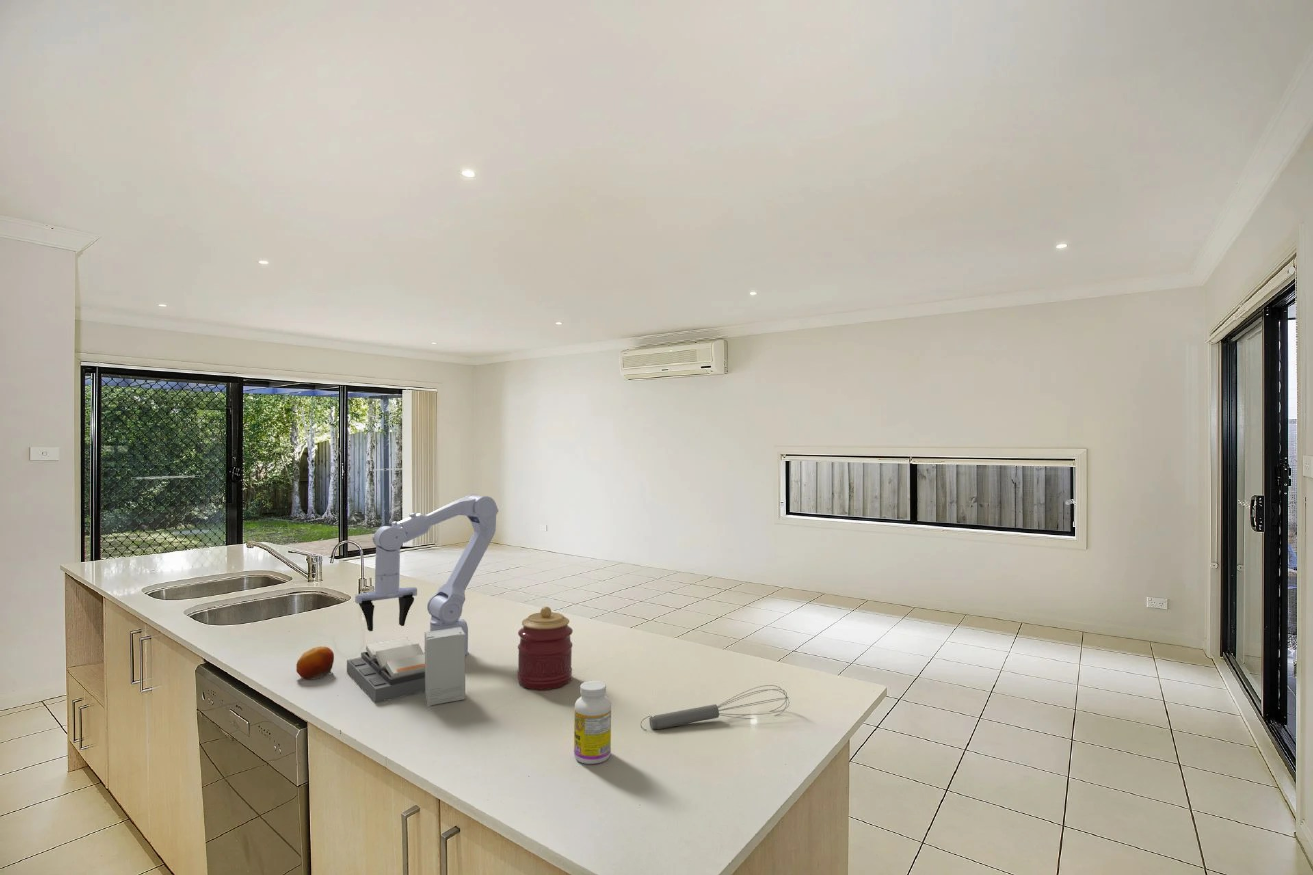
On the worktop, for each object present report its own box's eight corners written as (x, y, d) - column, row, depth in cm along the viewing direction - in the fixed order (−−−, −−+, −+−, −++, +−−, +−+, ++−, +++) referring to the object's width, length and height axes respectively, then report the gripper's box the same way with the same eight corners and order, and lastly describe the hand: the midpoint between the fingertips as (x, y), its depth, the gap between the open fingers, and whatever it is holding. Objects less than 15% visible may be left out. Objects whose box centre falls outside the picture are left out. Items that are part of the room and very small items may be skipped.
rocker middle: (417, 648, 154) (418, 642, 154) (424, 662, 150) (425, 657, 150) (375, 656, 148) (376, 650, 147) (381, 671, 144) (382, 665, 143)
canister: (582, 676, 151) (583, 604, 152) (551, 694, 140) (553, 616, 140) (538, 667, 157) (539, 598, 157) (505, 684, 145) (507, 609, 145)
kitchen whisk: (636, 724, 125) (637, 694, 125) (780, 708, 135) (781, 680, 135) (644, 737, 119) (645, 706, 120) (794, 719, 129) (794, 690, 129)
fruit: (324, 677, 144) (310, 646, 145) (299, 692, 146) (285, 662, 147) (348, 666, 152) (334, 637, 153) (324, 680, 153) (310, 651, 154)
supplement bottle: (574, 748, 114) (575, 678, 115) (610, 747, 115) (611, 677, 115) (572, 766, 108) (574, 692, 108) (610, 765, 108) (611, 691, 109)
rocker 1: (406, 642, 160) (407, 636, 160) (414, 652, 156) (414, 646, 156) (365, 649, 154) (366, 643, 154) (372, 660, 150) (372, 654, 149)
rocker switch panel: (403, 655, 165) (404, 639, 165) (443, 686, 143) (443, 668, 143) (342, 667, 155) (343, 650, 155) (375, 702, 134) (375, 683, 134)
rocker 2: (429, 658, 148) (429, 652, 148) (437, 669, 144) (438, 663, 144) (385, 667, 142) (386, 660, 141) (392, 679, 137) (393, 672, 137)
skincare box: (461, 691, 141) (463, 625, 141) (465, 700, 136) (467, 632, 136) (422, 697, 137) (424, 630, 138) (425, 707, 132) (426, 637, 132)
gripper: (361, 579, 149) (359, 636, 149) (421, 573, 158) (420, 626, 158) (353, 575, 154) (352, 629, 154) (412, 568, 164) (411, 620, 163)
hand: (386, 627), depth 156 cm, fingers open, 7 cm apart
